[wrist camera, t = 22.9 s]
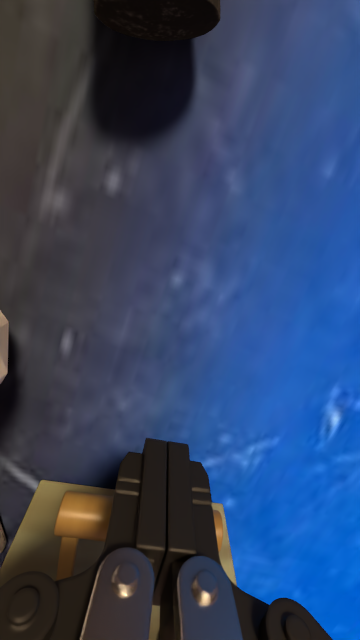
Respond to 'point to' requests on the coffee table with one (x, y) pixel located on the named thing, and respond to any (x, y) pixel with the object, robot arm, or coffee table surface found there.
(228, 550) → the drawer
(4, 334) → the geometric ball
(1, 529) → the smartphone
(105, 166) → the coffee table surface
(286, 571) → the coffee table surface
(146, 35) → the rubber mallet
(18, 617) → the robot arm
